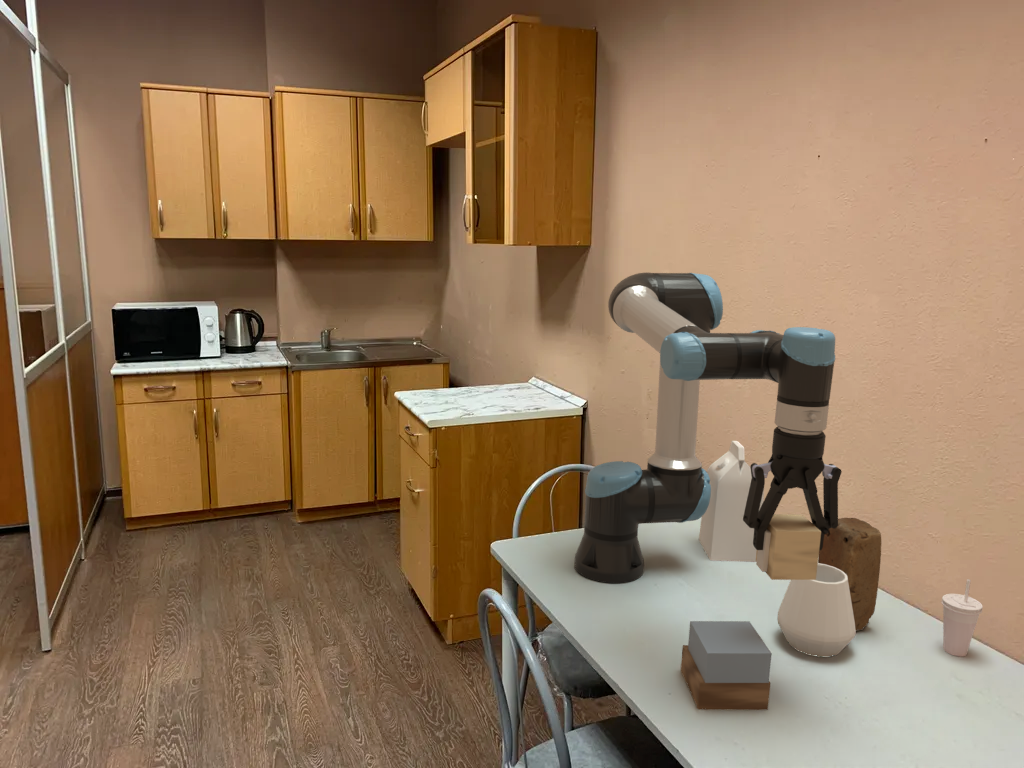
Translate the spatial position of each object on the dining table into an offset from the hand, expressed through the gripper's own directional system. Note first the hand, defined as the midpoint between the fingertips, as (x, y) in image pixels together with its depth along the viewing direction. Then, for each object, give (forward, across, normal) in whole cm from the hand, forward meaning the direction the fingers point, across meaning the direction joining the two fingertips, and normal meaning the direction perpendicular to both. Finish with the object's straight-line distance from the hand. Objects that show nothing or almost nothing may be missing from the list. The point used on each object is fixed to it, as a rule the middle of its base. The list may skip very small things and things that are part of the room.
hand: (785, 567), depth 124 cm
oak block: (0, 0, 0) cm, 0 cm away
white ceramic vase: (+21, +13, +13) cm, 28 cm away
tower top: (+16, -9, -2) cm, 18 cm away
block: (+21, +22, +22) cm, 37 cm away
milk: (+21, +11, +55) cm, 60 cm away
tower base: (+21, -9, -1) cm, 23 cm away
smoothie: (+21, +38, +10) cm, 44 cm away
